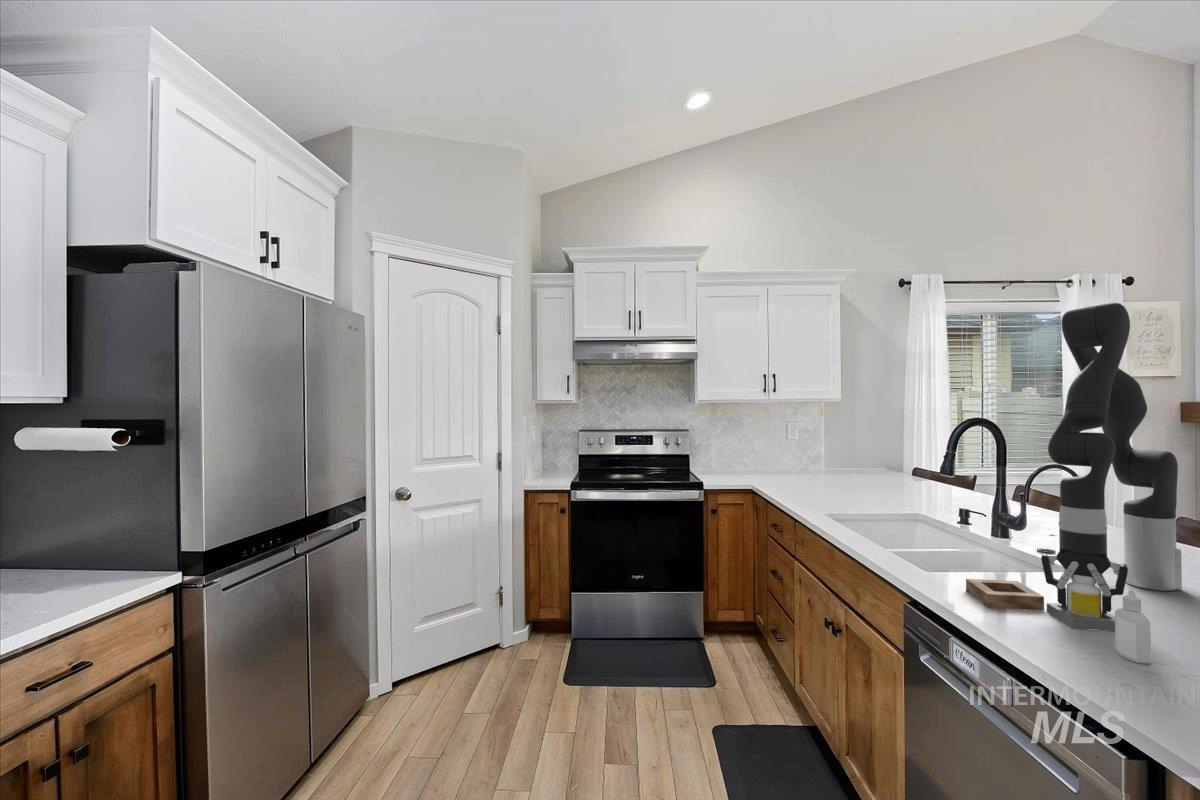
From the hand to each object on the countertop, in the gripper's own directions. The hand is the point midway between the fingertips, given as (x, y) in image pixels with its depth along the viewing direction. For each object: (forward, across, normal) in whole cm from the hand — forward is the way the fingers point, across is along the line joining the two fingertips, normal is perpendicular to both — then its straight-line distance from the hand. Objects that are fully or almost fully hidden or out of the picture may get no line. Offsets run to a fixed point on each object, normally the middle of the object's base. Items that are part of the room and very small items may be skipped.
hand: (1083, 609), depth 117 cm
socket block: (+3, +14, -4) cm, 15 cm away
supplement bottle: (+3, 0, 0) cm, 3 cm away
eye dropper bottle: (+3, -7, +16) cm, 17 cm away
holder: (+3, 0, 0) cm, 3 cm away
